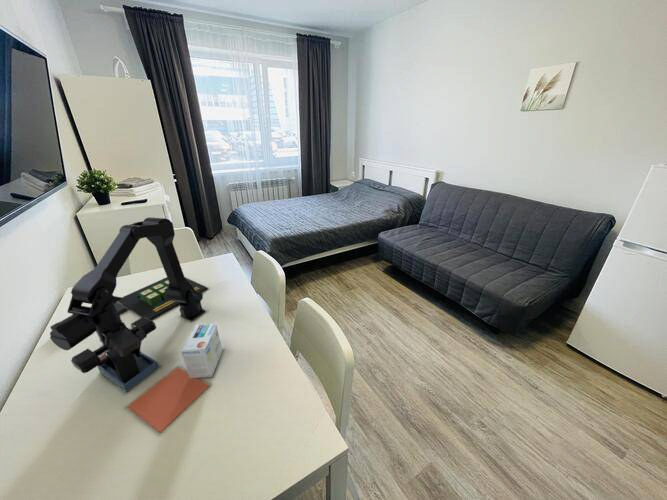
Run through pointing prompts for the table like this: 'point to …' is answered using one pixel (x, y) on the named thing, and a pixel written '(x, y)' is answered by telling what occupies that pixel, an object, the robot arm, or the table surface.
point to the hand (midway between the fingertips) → (127, 363)
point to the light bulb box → (202, 351)
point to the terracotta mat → (168, 398)
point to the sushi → (154, 299)
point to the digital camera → (124, 365)
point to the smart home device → (120, 308)
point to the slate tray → (145, 368)
